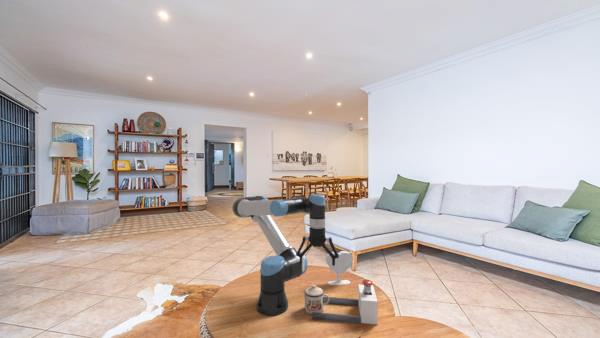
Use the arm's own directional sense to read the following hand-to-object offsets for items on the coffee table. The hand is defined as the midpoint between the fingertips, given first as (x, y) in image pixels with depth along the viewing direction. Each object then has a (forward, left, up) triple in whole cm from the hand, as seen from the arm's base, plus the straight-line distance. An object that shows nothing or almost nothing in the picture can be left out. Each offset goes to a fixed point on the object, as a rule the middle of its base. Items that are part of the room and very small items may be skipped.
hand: (317, 271), depth 128 cm
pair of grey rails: (+9, 0, -18) cm, 20 cm away
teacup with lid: (0, 0, -19) cm, 19 cm away
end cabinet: (+23, 0, -18) cm, 30 cm away
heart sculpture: (+10, +32, -19) cm, 38 cm away
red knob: (+23, 0, -10) cm, 26 cm away
